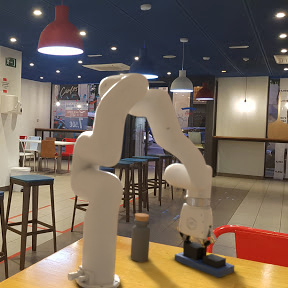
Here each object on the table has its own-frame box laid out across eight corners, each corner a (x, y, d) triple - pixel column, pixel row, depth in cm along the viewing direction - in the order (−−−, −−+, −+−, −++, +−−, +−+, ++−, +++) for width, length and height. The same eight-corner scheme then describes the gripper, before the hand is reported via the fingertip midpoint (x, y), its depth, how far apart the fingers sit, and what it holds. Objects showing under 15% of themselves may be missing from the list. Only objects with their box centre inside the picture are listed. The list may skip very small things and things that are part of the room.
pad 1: (196, 260, 122) (197, 248, 122) (183, 255, 126) (184, 244, 126) (205, 257, 125) (206, 245, 125) (192, 252, 129) (193, 241, 129)
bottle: (147, 256, 129) (149, 213, 128) (149, 262, 123) (151, 217, 122) (129, 254, 130) (132, 212, 128) (131, 261, 124) (133, 216, 123)
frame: (218, 277, 114) (219, 271, 114) (174, 260, 127) (174, 254, 126) (234, 271, 119) (234, 265, 119) (190, 255, 132) (190, 249, 132)
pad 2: (216, 274, 116) (217, 261, 116) (201, 268, 120) (202, 256, 120) (225, 270, 119) (226, 258, 119) (210, 265, 123) (211, 253, 123)
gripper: (169, 197, 129) (166, 249, 130) (215, 208, 115) (211, 266, 116) (183, 195, 133) (179, 245, 135) (228, 206, 120) (224, 261, 121)
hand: (194, 254), depth 125 cm, fingers closed on pad 1, 5 cm apart
